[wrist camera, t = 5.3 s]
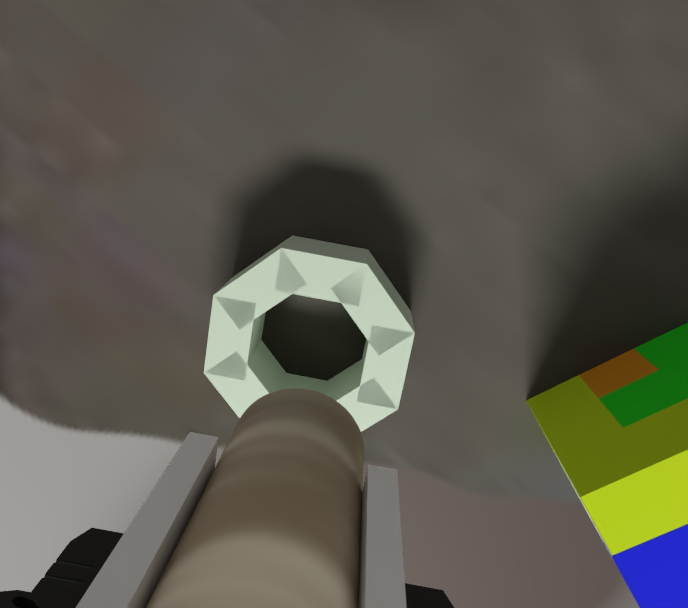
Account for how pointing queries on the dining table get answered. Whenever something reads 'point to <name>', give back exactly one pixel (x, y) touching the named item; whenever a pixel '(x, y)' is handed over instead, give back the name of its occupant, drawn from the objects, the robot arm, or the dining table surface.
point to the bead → (323, 283)
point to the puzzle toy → (631, 460)
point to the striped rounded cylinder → (276, 513)
